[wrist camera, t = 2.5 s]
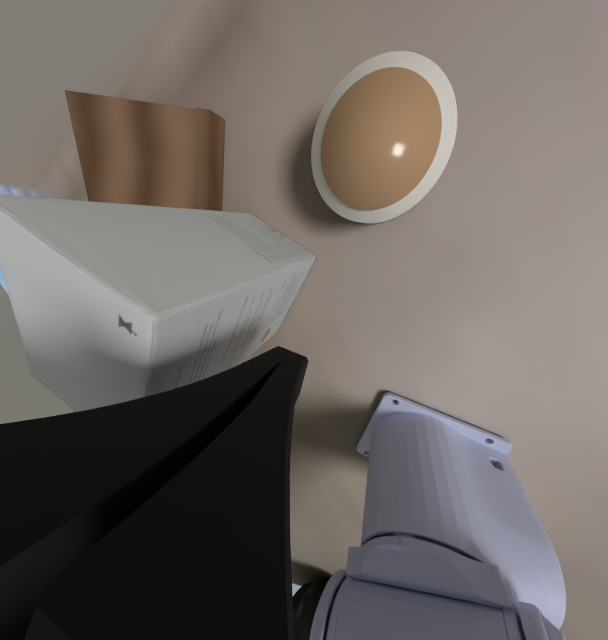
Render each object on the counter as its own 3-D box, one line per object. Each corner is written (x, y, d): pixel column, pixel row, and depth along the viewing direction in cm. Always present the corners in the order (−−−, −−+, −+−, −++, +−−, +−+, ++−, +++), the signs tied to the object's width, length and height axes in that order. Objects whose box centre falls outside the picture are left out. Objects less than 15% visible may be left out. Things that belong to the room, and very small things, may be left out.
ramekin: (466, 99, 11) (495, 50, 8) (411, 234, 14) (416, 236, 11) (342, 87, 12) (327, 41, 9) (316, 211, 15) (298, 208, 12)
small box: (250, 211, 17) (-33, 182, 6) (318, 255, 16) (157, 319, 5) (222, 296, 21) (25, 377, 10) (277, 333, 20) (135, 466, 9)
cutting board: (224, 119, 15) (209, 109, 14) (217, 353, 24) (207, 360, 23) (83, 98, 18) (59, 88, 17) (123, 311, 27) (110, 316, 26)
